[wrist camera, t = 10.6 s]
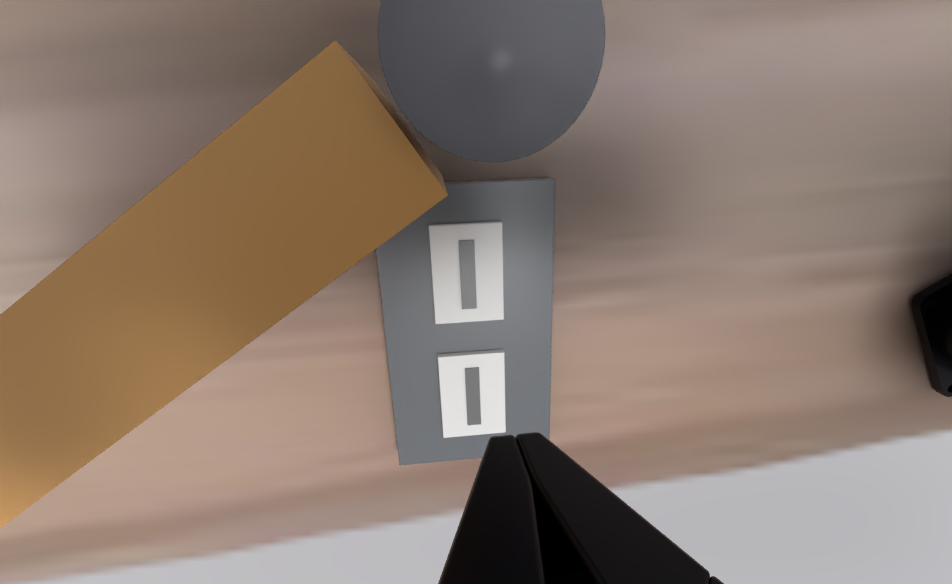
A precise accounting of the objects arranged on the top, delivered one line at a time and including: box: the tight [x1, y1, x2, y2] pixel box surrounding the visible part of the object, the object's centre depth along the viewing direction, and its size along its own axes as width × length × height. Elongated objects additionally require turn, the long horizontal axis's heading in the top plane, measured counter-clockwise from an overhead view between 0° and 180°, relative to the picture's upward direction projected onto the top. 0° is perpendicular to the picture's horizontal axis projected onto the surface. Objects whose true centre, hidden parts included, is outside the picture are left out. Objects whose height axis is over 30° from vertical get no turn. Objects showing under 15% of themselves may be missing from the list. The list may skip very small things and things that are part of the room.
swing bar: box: [0, 0, 605, 528], centre depth 11 cm, size 17×4×6 cm, turn 125°
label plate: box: [376, 177, 555, 465], centre depth 19 cm, size 12×7×1 cm, turn 2°
